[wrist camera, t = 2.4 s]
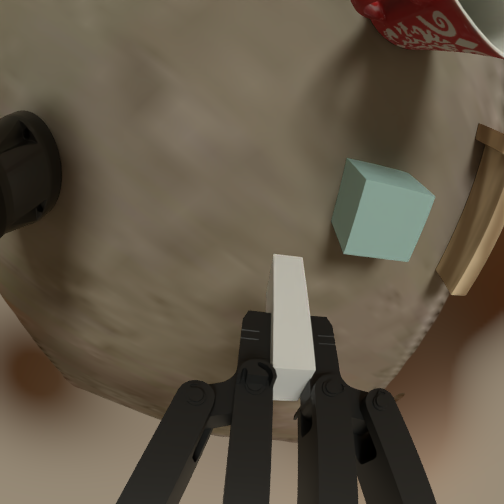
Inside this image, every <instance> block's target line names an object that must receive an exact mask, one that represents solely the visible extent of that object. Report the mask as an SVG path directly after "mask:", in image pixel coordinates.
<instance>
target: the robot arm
mask: <svg viewBox="0 0 504 504" xmlns="http://www.w3.org/2000/svg"><path fill="white" fill-rule="evenodd" d="M60 187H61V164H60V158H59V153H58V149H57V146H56V143H55V141H54V138H53V136H52V134H51V132H50V130H49V129H48V127H47V126H46V124H45V123H44V122H43V121H42V120H41V119H40V118H39V117H38V116H37V115H35V114H33V113H31V112H28V111H17V112H14V113H12V114H9V115H7V116H4V117H3V118H1V119H0V238H1V237H2V236H3V235H4V234H6V233H8V232H11V231H13V230H16V229H18V228H21V227H24V226H26V225H29V224H32V223H34V222H36V221H38V220H40V219H41V218H42V217H43V216H44V215H45V214H47V213H48V212H49V211H50V210H51V209H52V208H53V206H54V205H55V203H56V201H57V199H58V196H59V192H60ZM299 398H300V400H301V406H300V408H299V409H298V410H297V412H296V413H295V415H294V419H293V420H296V419H297V417H298V498H297V504H358V487H357V477H358V480H359V482H360V485H361V489H362V492H363V494H364V497H365V501H366V504H436V501H435V498H434V495H433V492H432V489H431V487H430V484H429V481H428V478H427V476H426V473H425V471H424V468H423V465H422V463H421V460H420V458H419V455H418V453H417V450H416V448H415V445H414V443H413V441H412V438H411V436H410V433H409V431H408V429H407V427H406V424H405V422H404V420H403V417H402V415H401V413H400V411H399V409H398V407H397V404H396V402H395V400H394V398H393V396H392V395H391V393H390V392H388V391H386V390H385V389H381V388H377V389H373V390H371V391H370V392H369V393H368V392H365V391H361V390H358V389H354V388H352V387H350V386H349V385H347V384H346V383H345V382H344V380H343V379H342V378H341V375H340V371H339V364H338V358H337V351H336V345H335V339H334V333H333V328H332V325H331V323H330V322H329V320H328V319H327V317H318V316H310V310H309V302H308V294H307V287H306V279H305V272H304V265H303V258H302V257H295V256H287V255H278V254H273V260H272V265H271V271H270V276H269V281H268V286H267V292H266V312H257V311H248V312H247V314H246V315H245V317H244V318H243V322H242V330H241V339H240V348H239V357H238V366H237V371H236V373H235V374H234V376H233V377H232V378H230V379H229V380H227V381H225V382H221V383H215V384H209V385H208V384H207V383H205V382H203V381H199V380H192V381H188V382H186V383H184V384H182V386H181V387H180V388H179V389H178V391H177V393H176V395H175V396H174V398H173V400H172V402H171V404H170V406H169V407H168V409H167V411H166V413H165V415H164V417H163V418H162V420H161V422H160V424H159V426H158V428H157V430H156V431H155V433H154V435H153V437H152V439H151V440H150V442H149V444H148V446H147V448H146V450H145V451H144V453H143V455H142V457H141V459H140V461H139V462H138V464H137V466H136V468H135V470H134V471H133V473H132V475H131V477H130V479H129V481H128V482H127V484H126V486H125V488H124V490H123V492H122V494H121V495H120V497H119V499H118V501H117V503H116V504H179V501H180V499H181V497H182V495H183V493H184V491H185V489H186V487H187V485H188V483H189V481H190V478H191V476H192V474H193V472H194V470H195V468H196V466H197V463H198V461H199V459H200V457H201V455H202V452H203V450H204V448H205V446H206V444H207V441H208V439H209V437H210V435H211V432H212V430H213V428H217V427H222V426H228V425H231V429H230V439H229V448H228V457H227V467H226V476H225V486H224V495H223V504H269V495H270V473H271V447H272V415H273V400H284V401H298V399H299Z"/></svg>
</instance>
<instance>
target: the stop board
mask: <svg viewBox="0 0 504 504" xmlns="http://www.w3.org/2000/svg"><path fill="white" fill-rule="evenodd" d="M475 139H476V140H478V141H480V142H481V143H483V144H485V148H484V151H483V155H482V158H481V162H480V165H479V168H478V171H477V175H476V178H475V181H474V183H473V186H472V189H471V192H470V195H469V197H468V200H467V202H466V205H465V208H464V210H463V213H462V215H461V217H460V220H459V222H458V224H457V227H456V229H455V231H454V233H453V236H452V238H451V240H450V242H449V244H448V246H447V248H446V250H445V252H444V254H443V256H442V258H441V260H440V262H439V264H438V266H437V268H436V271H437V272H438V274H439V275H440V277H441V279H442V280H443V282H444V284H445V285H446V287H447V289H448V290H449V292H450V294H451V295H466V294H467V292H468V291H469V289H470V288H471V286H472V284H473V283H474V281H475V279H476V278H477V276H478V274H479V273H480V271H481V269H482V267H483V266H484V264H485V262H486V260H487V258H488V256H489V255H490V253H491V251H492V249H493V247H494V245H495V243H496V241H497V239H498V237H499V234H500V232H501V230H502V228H503V226H504V134H503V133H500V132H498V131H496V130H494V129H492V128H489V127H487V126H484V125H482V124H479V125H478V129H477V133H476V137H475Z"/></svg>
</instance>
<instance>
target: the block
mask: <svg viewBox="0 0 504 504" xmlns="http://www.w3.org/2000/svg"><path fill="white" fill-rule="evenodd" d="M434 199H435V196H434V195H433V194H432V193H431V192H430V191H429V190H427V189H426V188H425V187H424V186H423V185H422V184H421V183H419V182H418V181H417V180H416V179H415V178H414V177H412V176H411V175H410V174H409V173H407V172H404V171H400V170H396V169H393V168H389V167H385V166H381V165H377V164H373V163H368V162H364V161H360V160H355V159H350V158H347V159H346V164H345V168H344V172H343V176H342V181H341V185H340V189H339V193H338V197H337V201H336V205H335V208H334V212H333V216H332V220H331V222H332V224H333V227H334V230H335V232H336V235H337V238H338V240H339V243H340V246H341V248H342V251H343V254H348V255H356V256H365V257H373V258H381V259H389V260H397V261H405V262H408V261H409V259H410V257H411V255H412V253H413V250H414V248H415V246H416V244H417V241H418V239H419V237H420V234H421V232H422V230H423V227H424V225H425V222H426V220H427V217H428V215H429V212H430V210H431V207H432V204H433V202H434Z"/></svg>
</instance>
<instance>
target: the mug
mask: <svg viewBox="0 0 504 504" xmlns="http://www.w3.org/2000/svg"><path fill="white" fill-rule="evenodd" d="M351 2H352V4H353V6H354V8H355V9H356V11H357V12H358V13H359V14H361V15H362V16H364V17H367V18H369V19H371V21H372V23H373V25H374V26H375V28H376V29H377V30H378V32H379V33H380V34H381V35H382V36H383V37H384V38H386V39H387V40H388V41H390V42H391V43H393V44H395V45H396V46H399V47H401V48H405V49H410V50H439V51H454V52H464V53H472V54H478V55H485V56H492V57H497V58H501V59H504V0H351Z"/></svg>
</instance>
